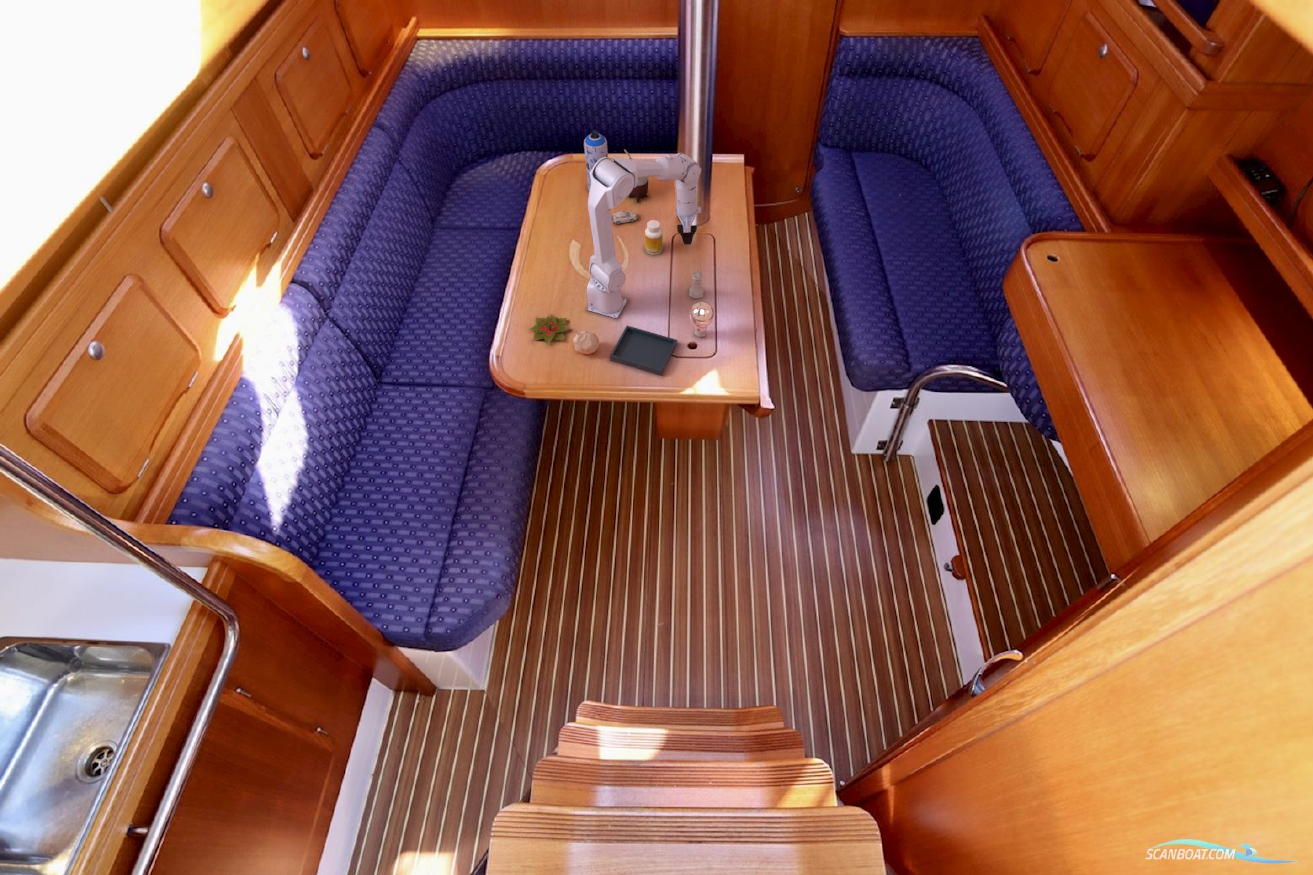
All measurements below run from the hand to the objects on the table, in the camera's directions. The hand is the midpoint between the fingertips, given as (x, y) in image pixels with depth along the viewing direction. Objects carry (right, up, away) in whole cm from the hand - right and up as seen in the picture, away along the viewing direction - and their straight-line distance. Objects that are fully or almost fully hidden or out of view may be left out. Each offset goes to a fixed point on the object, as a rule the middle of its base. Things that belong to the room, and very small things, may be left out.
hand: (687, 234), depth 192 cm
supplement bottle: (-10, -1, +12) cm, 16 cm away
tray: (-13, -37, -12) cm, 41 cm away
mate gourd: (-16, +21, +27) cm, 38 cm away
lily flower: (-40, -30, -7) cm, 50 cm away
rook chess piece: (+3, -18, +1) cm, 18 cm away
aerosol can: (-29, +25, +30) cm, 49 cm away
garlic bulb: (-29, -36, -12) cm, 47 cm away
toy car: (-20, +11, +20) cm, 30 cm away
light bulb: (+3, -31, -8) cm, 33 cm away
